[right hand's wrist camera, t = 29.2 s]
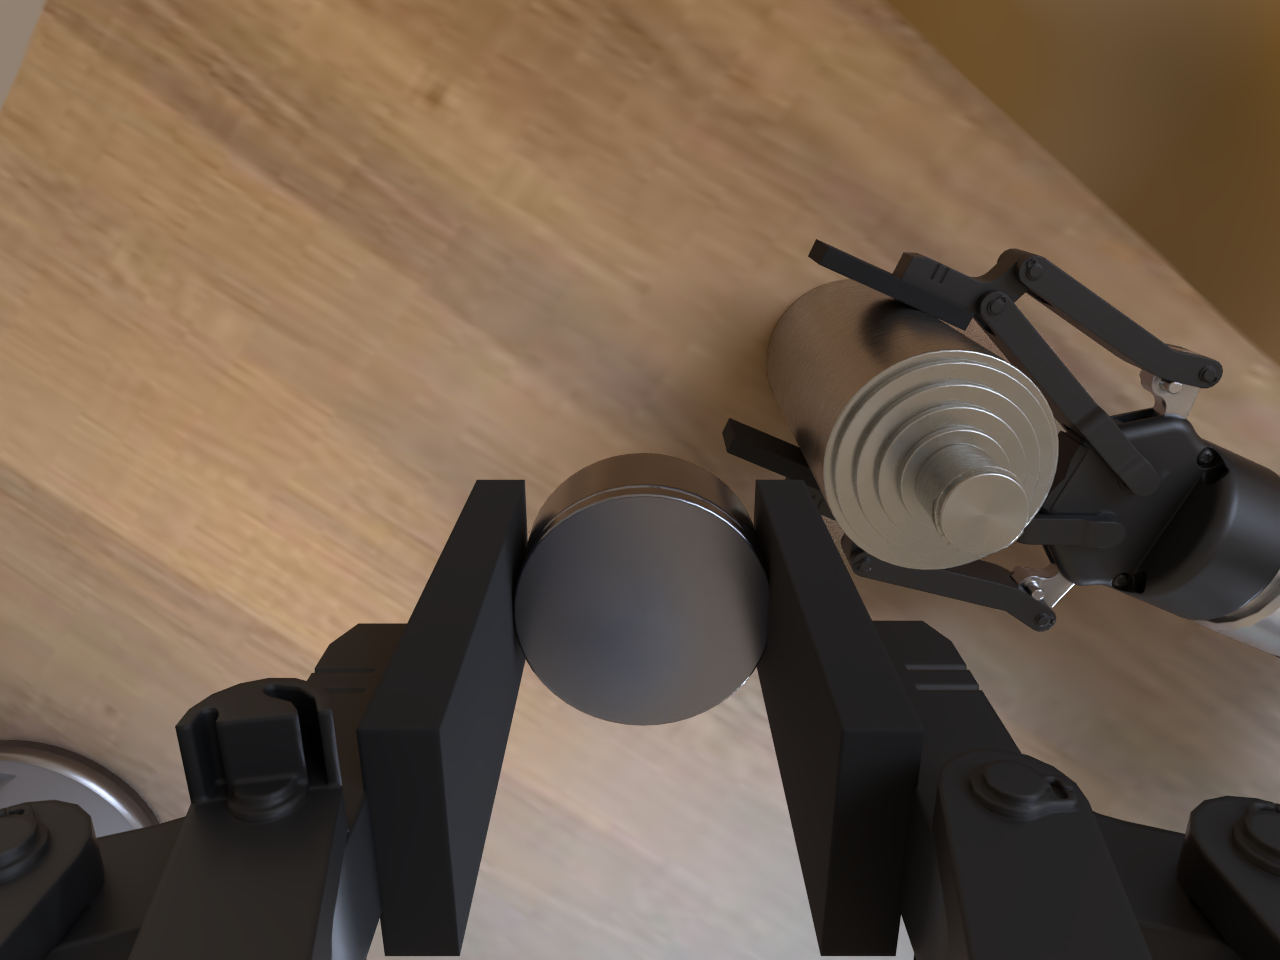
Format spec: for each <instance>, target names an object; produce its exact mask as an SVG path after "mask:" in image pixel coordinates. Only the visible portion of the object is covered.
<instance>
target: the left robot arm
mask: <svg viewBox="0 0 1280 960" xmlns="http://www.w3.org/2000/svg"><path fill="white" fill-rule="evenodd" d="M808 257H810V258H811V259H813V260H814V261H815V262H817V263H818V264H819V265H822V266H824V267H826V268H828V269H830V270H833V271H835V272H837V273H839V274H841V275H844V276H846V277H848V278H850V279H852V280H855V281H857V282H859V283H861V284H863V285H866V286H868V287H870V288H872V289H874V290H877V291H879V292H881V293H883V294H885V295H888V296H890V297H892V298H894V299H896V300H899V301H901V302H903V303H905V304H907V305H910V306H912V307H914V308H916V309H918V310H921V311H923V312H925V313H927V314H930V315H932V316H934V317H936V318H938V319H940V320H943V321H945V322H947V323H949V324H951V325H954V326H956V327H958V328H960V329H962V330H966V328H967V327H968V325H969V323H970V321H971V319H972V318H973V319H974V320H975V321H976V322H977V323H978V324H979V326H980V327H981V328H982V329H983V330H984V332H985V333H986V334H987V335H988V336H989V338H990V339H991V340H992V341H993V342H994V344H995V345H996V346H997V347H998V348H999V350H1000V351H1001V352H1002V353H1003V354H1004V355H1005V357H1006V358H1007V359H1008V360H1009V361H1010V363H1011V364H1012V365H1013V366H1015V367H1016V368H1018V369H1019V370H1020V371H1022V372H1023V373H1024V374H1025V375H1027V376H1028V377H1029V378H1030V379H1031V380H1032V381H1033V382H1034V383H1035V385H1036V386H1037V387H1038V388H1039V389H1040V391H1041V392H1042V394H1043V395H1044V397H1045V398H1046V400H1047V402H1048V404H1049V406H1050V408H1051V410H1052V413H1053V416H1054V417H1055V419H1056V420H1057V421H1058V422H1059V423H1060V425H1061V426H1062V427H1063V428H1064V429H1065V430H1066V433H1065V432H1063V431H1060V432H1059V434H1058V441H1059V446H1058V462H1057V469H1056V473H1055V476H1054V480H1053V483H1052V486H1051V488H1050V490H1049V493H1048V495H1047V497H1046V499H1045V501H1044V503H1043V504H1042V506H1041V508H1040V509H1039V511H1038V512H1037V514H1036V515H1035V516H1034V517H1033V519H1032V520H1031V521H1030V523H1029V524H1028V525H1027V526H1026V527H1025V528H1024V529H1023V531H1024V532H1023V533H1022V535H1021V536H1020V537H1019V538H1018V539H1017V542H1019V543H1023V544H1033V545H1042V546H1043V548H1044V550H1045V552H1046V554H1047V556H1048V558H1049V560H1050V562H1051V564H1050V565H1049V566H1048V567H1046V568H1044V569H1040V570H1035V569H1032V568H1029V567H1020V566H1018V567H1015V568H1014V569H1013V571H1012V572H1010V571H1008V570H1007V569H1005V568H1003V567H1000V566H998V565H996V564H993V563H989V562H986V561H982V560H976V561H973V562H970V563H967V564H964V565H960V566H956V567H952V568H944V569H931V570H921V569H912V568H905V567H901V566H897V565H893V564H890V563H888V562H885V561H882V560H880V559H878V558H876V557H874V556H872V555H870V554H868V553H867V552H866V551H864V550H863V549H861V548H860V547H859V546H857V545H856V544H855V543H854V542H853V541H852V540H851V539H850V538H849V537H848V536H847V535H846V534H844V535H843V537H842V539H841V546H842V549H843V551H844V553H845V555H846V557H847V559H848V562H849V564H850V566H851V568H852V570H853V571H854V572H855V574H857V575H859V576H862V577H866V578H870V579H874V580H878V581H882V582H887V583H891V584H895V585H899V586H903V587H908V588H912V589H916V590H920V591H924V592H928V593H933V594H937V595H941V596H945V597H949V598H954V599H958V600H962V601H966V602H970V603H974V604H979V605H983V606H987V607H991V608H995V609H1000V610H1004V611H1007V612H1008V613H1009V614H1011V615H1012V616H1014V617H1015V618H1017V619H1018V620H1020V621H1021V622H1023V623H1024V624H1026V625H1027V626H1029V627H1030V628H1032V629H1033V630H1036V631H1046V630H1049V629H1050V628H1051V627H1053V625H1054V624H1055V621H1056V615H1055V613H1054V612H1053V611H1052V609H1051V608H1052V607H1053V606H1054V605H1055V604H1056V603H1057V602H1058V601H1059V600H1060V599H1061V598H1062V597H1063V596H1064V595H1065V593H1066V592H1067V591H1068V590H1069V589H1070V588H1071V587H1072V586H1073V585H1074V584H1076V585H1082V586H1086V585H1105V586H1109V587H1111V588H1114V589H1116V590H1118V591H1121V592H1123V593H1125V594H1128V595H1130V596H1132V597H1135V598H1137V599H1140V600H1142V601H1144V602H1147V603H1149V604H1151V605H1154V606H1156V607H1159V608H1161V609H1163V610H1166V611H1168V612H1170V613H1173V614H1175V615H1178V616H1180V617H1183V618H1186V619H1190V620H1194V621H1195V622H1196V623H1197V624H1199V625H1202V626H1204V627H1206V628H1208V629H1211V630H1213V631H1215V632H1218V633H1220V634H1223V635H1225V636H1228V637H1230V638H1233V639H1235V640H1238V641H1240V642H1242V643H1245V644H1247V645H1250V646H1252V647H1255V648H1257V649H1260V650H1262V651H1265V652H1267V653H1270V654H1272V655H1275V656H1277V657H1279V658H1280V475H1277V474H1276V473H1275V472H1273V471H1272V470H1270V469H1268V468H1266V467H1264V466H1262V465H1259V464H1257V463H1255V462H1253V461H1251V460H1248V459H1246V458H1244V457H1242V456H1240V455H1237V454H1235V453H1233V452H1231V451H1229V450H1226V449H1224V448H1222V447H1220V446H1218V445H1215V444H1213V443H1211V442H1209V441H1207V440H1204V439H1202V438H1200V437H1199V436H1198V434H1197V433H1196V432H1195V430H1194V428H1193V426H1192V425H1191V423H1190V422H1189V421H1188V420H1187V419H1186V418H1187V416H1188V414H1189V412H1190V410H1191V407H1192V405H1193V403H1194V401H1195V398H1196V396H1197V394H1198V392H1199V389H1200V388H1209V387H1212V386H1214V385H1215V384H1216V383H1218V381H1219V380H1220V379H1221V377H1222V373H1223V369H1222V366H1221V364H1220V363H1219V362H1218V361H1215V360H1213V359H1211V358H1208V357H1205V356H1203V355H1200V354H1198V353H1195V352H1193V351H1190V350H1187V349H1185V348H1182V347H1179V346H1174V345H1170V344H1165V343H1163V342H1162V341H1160V340H1159V339H1158V338H1156V337H1155V336H1153V335H1152V334H1151V333H1149V332H1148V331H1146V330H1145V329H1144V328H1142V327H1141V326H1139V325H1138V324H1137V323H1135V322H1134V321H1132V320H1131V319H1130V318H1128V317H1127V316H1125V315H1124V314H1123V313H1121V312H1120V311H1118V310H1117V309H1116V308H1114V307H1113V306H1111V305H1110V304H1109V303H1107V302H1106V301H1104V300H1103V299H1102V298H1100V297H1099V296H1097V295H1096V294H1095V293H1093V292H1092V291H1090V290H1089V289H1088V288H1086V287H1085V286H1083V285H1082V284H1081V283H1079V282H1078V281H1076V280H1075V279H1074V278H1072V277H1071V276H1069V275H1068V274H1067V273H1065V272H1064V271H1062V270H1061V269H1060V268H1058V267H1057V266H1055V265H1054V264H1053V263H1051V262H1050V261H1048V260H1047V259H1046V258H1044V257H1041V256H1039V255H1036V254H1032V253H1029V252H1026V251H1022V250H1019V249H1009V250H1006V251H1004V252H1003V253H1002V254H1001V255H1000V257H999V259H998V261H997V264H996V265H995V266H994V267H993V268H992V269H991V270H990V271H989V272H987V273H986V274H984V275H982V276H980V277H969V276H967V275H964V274H962V273H960V272H958V271H956V270H954V269H951V268H949V267H947V266H945V265H943V264H941V263H938V262H936V261H934V260H932V259H930V258H928V257H925V256H923V255H921V254H918V253H903V255H902V257H901V259H900V261H899V262H898V264H897V266H896V268H895V270H894V272H893V274H891V273H889V272H887V271H885V270H882V269H880V268H878V267H876V266H874V265H872V264H869V263H867V262H865V261H863V260H861V259H858V258H856V257H854V256H852V255H850V254H847V253H845V252H843V251H841V250H839V249H837V248H834V247H832V246H830V245H828V244H826V243H823V242H821V241H819V240H817V239H816V241H815V243H814V245H813V247H812V249H811V251H810V253H809V255H808ZM1025 292H1026V293H1027V294H1029V295H1030V296H1032V297H1033V298H1034V299H1036V300H1037V301H1039V302H1040V303H1041V304H1043V305H1044V306H1046V307H1047V308H1049V309H1050V310H1051V311H1053V312H1054V313H1056V314H1057V315H1059V316H1060V317H1061V318H1063V319H1064V320H1066V321H1067V322H1069V323H1070V324H1071V325H1073V326H1074V327H1076V328H1077V329H1079V330H1080V331H1081V332H1083V333H1084V334H1086V335H1087V336H1089V337H1090V338H1091V339H1093V340H1094V341H1096V342H1097V343H1098V344H1100V345H1101V346H1103V347H1104V348H1106V349H1107V350H1108V351H1110V352H1111V353H1113V354H1114V355H1116V356H1117V357H1119V358H1120V359H1122V360H1124V361H1125V362H1128V363H1130V364H1132V365H1134V366H1136V367H1138V368H1141V369H1142V370H1141V372H1140V378H1141V384H1142V386H1143V388H1144V389H1146V390H1148V391H1149V392H1151V393H1152V394H1153V395H1154V398H1155V405H1154V408H1148V409H1143V410H1138V411H1133V412H1128V413H1123V414H1118V415H1113V416H1109V415H1108V414H1107V413H1106V412H1105V411H1104V410H1103V409H1101V408H1100V407H1099V406H1098V405H1097V404H1096V403H1095V402H1094V400H1093V399H1092V398H1091V397H1090V395H1089V394H1088V393H1087V392H1086V391H1085V389H1084V388H1083V387H1082V386H1081V384H1080V383H1079V382H1078V381H1077V380H1076V378H1075V377H1074V376H1073V375H1072V374H1071V372H1070V371H1069V370H1068V369H1067V367H1066V366H1065V365H1064V364H1063V363H1062V361H1061V360H1060V359H1059V358H1058V356H1057V355H1056V354H1055V353H1054V352H1053V350H1052V349H1051V348H1050V347H1049V345H1048V344H1047V343H1046V342H1045V341H1044V339H1043V338H1042V337H1041V336H1040V334H1039V333H1038V332H1037V331H1036V330H1035V328H1034V327H1033V326H1032V325H1031V323H1030V322H1029V321H1028V320H1027V319H1026V317H1025V316H1024V315H1023V314H1022V313H1021V311H1020V310H1019V309H1018V308H1017V306H1016V305H1015V304H1014V302H1015V301H1016V300H1018V299H1019V298H1020V297H1021V296H1022V295H1023V294H1024V293H1025ZM722 434H723V438H724V442H725V445H726V449H727V452H728V453H730V454H732V455H735V456H737V457H740V458H742V459H744V460H747V461H749V462H752V463H754V464H756V465H759V466H761V467H764V468H766V469H768V470H771V471H773V472H776V473H778V474H780V475H783V476H785V477H786V479H785V480H804V482H805V484H806V486H807V488H808V490H809V492H810V494H811V496H812V498H813V500H814V502H815V504H816V507H817V509H818V511H819V513H820V514H821V515H823V516H826V517H828V518H830V519H833V520H835V521H836V519H835V518H834V516H833V514H832V512H831V510H830V508H829V506H828V504H827V502H826V500H825V498H824V496H823V494H822V492H821V490H820V488H819V486H818V484H817V482H816V480H815V478H814V476H813V474H812V471H811V469H810V467H809V465H808V463H807V461H806V459H805V457H804V455H803V453H802V451H801V449H800V448H799V447H797V446H795V445H792V444H790V443H787V442H785V441H783V440H780V439H778V438H776V437H773V436H771V435H769V434H766V433H764V432H761V431H759V430H757V429H754V428H752V427H750V426H747V425H745V424H742V423H740V422H738V421H735V420H733V419H731V418H729V420H728V422H727V424H726V426H725V428H724V430H723V432H722Z"/></svg>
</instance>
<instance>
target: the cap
mask: <svg viewBox="0 0 1280 960" xmlns="http://www.w3.org/2000/svg"><path fill="white" fill-rule="evenodd" d="M769 592H770V579H769V576H768V572H767V569H766V566H765V562H764V559H763V556H762V552H761V549H760V546H759V542H758V539H757V536H756V532H755V529H754V526H753V523H752V521H751V519H750V517H749V514H748V512H747V510H746V509H745V507H744V506H743V504H742V503H741V501H740V500H739V498H738V497H737V496H736V495H735V494H734V493H733V491H732V490H731V489H730V488H729V487H728V486H727V485H726V484H724V483H723V482H722V481H721V480H720V479H719V478H717V477H716V476H714V475H713V474H711V473H710V472H708V471H707V470H705V469H703V468H701V467H699V466H697V465H695V464H693V463H691V462H688V461H685V460H682V459H679V458H676V457H671V456H666V455H661V454H652V453H650V454H648V453H639V454H626V455H621V456H615V457H611V458H607V459H605V460H601V461H598V462H596V463H594V464H592V465H589V466H587V467H585V468H583V469H581V470H580V471H578V472H577V473H575V474H574V475H572V476H570V477H569V478H568V479H567V480H566V481H564V482H563V483H562V484H561V485H560V486H559V487H558V488H557V489H556V490H555V491H554V492H553V493H552V494H551V495H550V496H549V498H548V499H547V500H546V502H545V503H544V505H543V506H542V508H541V509H540V511H539V513H538V515H537V517H536V519H535V521H534V524H533V527H532V530H531V533H530V536H529V540H528V543H527V547H526V551H525V554H524V558H523V561H522V565H521V568H520V572H519V576H518V579H517V583H516V588H515V593H514V599H513V618H514V626H515V631H516V635H517V639H518V642H519V645H520V648H521V650H522V652H523V654H524V657H525V659H526V660H527V662H528V664H529V665H530V667H531V669H532V670H533V672H534V673H535V674H536V675H537V677H538V678H539V679H540V680H541V682H542V683H543V684H544V685H545V686H546V687H547V688H548V689H549V690H550V691H552V692H553V693H554V694H555V695H556V696H558V697H559V698H560V699H562V700H563V701H564V702H566V703H567V704H569V705H571V706H572V707H574V708H576V709H578V710H579V711H582V712H584V713H586V714H589V715H591V716H593V717H596V718H600V719H603V720H606V721H610V722H615V723H621V724H627V725H660V724H666V723H672V722H677V721H680V720H684V719H687V718H691V717H693V716H696V715H698V714H701V713H703V712H705V711H707V710H709V709H711V708H713V707H714V706H716V705H718V704H720V703H721V702H722V701H724V700H725V699H727V698H728V697H729V696H731V695H732V694H733V693H734V692H735V691H736V690H737V689H738V688H740V687H741V686H742V685H743V684H744V683H745V681H746V680H747V679H748V678H749V677H750V675H751V674H752V673H753V671H754V670H755V668H756V667H757V665H758V664H759V662H760V660H761V659H762V656H763V654H764V652H765V650H766V645H767V628H768V610H769Z"/></svg>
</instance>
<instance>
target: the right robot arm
mask: <svg viewBox="0 0 1280 960" xmlns="http://www.w3.org/2000/svg"><path fill="white" fill-rule="evenodd" d="M754 529H755V532H756V536H757V539H758V542H759V546H760V549H761V552H762V556H763V559H764V562H765V566H766V569H767V572H768V576H769V579H770V592H769V610H768V628H767V645H766V650H765V652H764V654H763V656H762V659H761V660H760V662H759V664H758V665H757V670H758V675H759V679H760V684H761V688H762V693H763V697H764V702H765V706H766V711H767V715H768V720H769V724H770V729H771V733H772V738H773V742H774V747H775V751H776V756H777V760H778V765H779V769H780V774H781V778H782V783H783V787H784V792H785V796H786V801H787V805H788V810H789V814H790V819H791V823H792V828H793V832H794V837H795V841H796V846H797V850H798V855H799V859H800V864H801V868H802V873H803V877H804V882H805V886H806V891H807V895H808V900H809V904H810V909H811V913H812V918H813V922H814V927H815V931H816V936H817V940H818V945H819V949H820V954H821V956H896V949H897V941H898V933H899V926H900V918H901V915H902V918H903V921H904V924H905V927H906V930H907V933H908V936H909V939H910V942H911V945H912V948H913V951H914V960H1280V804H1275V803H1273V802H1269V801H1264V800H1261V799H1257V798H1246V797H1235V796H1224V797H1219V798H1214V799H1209V800H1204V801H1203V802H1202V803H1201V804H1200V805H1198V806H1197V807H1196V808H1195V809H1194V810H1193V811H1192V812H1191V814H1190V818H1189V821H1188V825H1187V829H1186V833H1185V834H1182V833H1178V832H1173V831H1169V830H1164V829H1159V828H1155V827H1150V826H1145V825H1141V824H1136V823H1131V822H1127V821H1122V820H1119V819H1115V818H1112V817H1108V816H1105V815H1101V814H1098V813H1096V812H1093V811H1092V808H1091V806H1090V803H1089V801H1088V800H1087V799H1086V797H1085V796H1084V794H1083V793H1082V791H1081V790H1080V789H1079V787H1078V786H1077V784H1076V783H1075V782H1073V781H1072V780H1071V779H1069V778H1068V777H1067V776H1065V775H1064V774H1063V773H1062V772H1060V771H1059V770H1058V769H1056V768H1055V767H1053V766H1051V765H1049V764H1046V763H1044V762H1042V761H1040V760H1037V759H1035V758H1033V757H1031V756H1028V755H1025V754H1021V752H1020V750H1019V749H1018V747H1017V746H1016V744H1015V742H1014V741H1013V739H1012V738H1011V736H1010V734H1009V733H1008V731H1007V730H1006V728H1005V726H1004V725H1003V723H1002V722H1001V720H1000V718H999V717H998V715H997V714H996V712H995V710H994V709H993V707H992V706H991V704H990V702H989V701H988V699H987V698H986V696H985V694H984V693H983V691H982V690H979V685H978V683H977V682H976V680H975V678H974V677H973V675H972V674H971V672H970V670H967V669H966V664H965V662H964V661H963V659H962V658H961V656H960V654H959V653H958V651H957V650H956V648H955V646H954V645H953V643H952V642H951V641H950V640H949V639H947V638H946V637H944V636H943V635H942V634H940V633H939V632H937V631H936V630H935V629H933V628H932V627H930V626H929V625H928V624H926V623H925V622H923V621H872V620H871V618H870V616H869V614H868V612H867V610H866V607H865V605H864V603H863V601H862V599H861V597H860V595H859V593H858V591H857V589H856V587H855V585H854V583H853V581H852V579H851V577H850V575H849V572H848V570H847V568H846V566H845V564H844V562H843V560H842V558H841V556H840V554H839V552H838V550H837V548H836V546H835V544H834V542H833V540H832V537H831V535H830V533H829V531H828V529H827V527H826V525H825V523H824V521H823V519H822V517H821V515H820V513H819V511H818V509H817V507H816V504H815V502H814V500H813V498H812V496H811V494H810V492H809V490H808V488H807V486H806V484H805V482H804V480H756V488H755V509H754ZM527 543H528V540H527V518H526V497H525V480H477V481H476V483H475V485H474V487H473V489H472V491H471V493H470V495H469V497H468V500H467V502H466V504H465V506H464V508H463V510H462V512H461V514H460V516H459V518H458V520H457V522H456V524H455V526H454V528H453V530H452V533H451V535H450V537H449V539H448V541H447V543H446V545H445V547H444V549H443V551H442V553H441V555H440V557H439V559H438V561H437V563H436V565H435V568H434V570H433V572H432V574H431V576H430V578H429V580H428V582H427V584H426V586H425V588H424V590H423V592H422V594H421V596H420V598H419V601H418V603H417V605H416V607H415V609H414V611H413V613H412V615H411V617H410V619H409V621H408V623H407V624H357V625H356V626H355V627H353V628H352V629H350V630H349V631H348V632H346V633H345V634H343V635H342V636H341V637H339V638H338V639H336V640H335V641H334V642H332V643H331V644H330V645H329V646H328V648H327V649H326V651H325V653H324V654H323V656H322V657H321V659H320V661H319V662H318V664H317V666H316V667H315V673H312V674H311V675H310V677H309V678H308V680H307V681H304V680H300V679H297V678H266V679H261V680H256V681H251V682H246V683H240V684H237V685H235V686H232V687H230V688H227V689H225V690H222V691H219V692H217V693H214V694H212V695H210V696H209V697H207V698H206V699H204V700H203V701H201V702H200V703H198V704H197V705H195V706H193V707H192V708H190V709H189V710H188V711H187V713H186V714H185V715H184V716H183V717H182V719H181V720H180V721H179V722H178V724H177V725H176V726H175V728H176V733H177V737H178V742H179V747H180V752H181V756H182V761H183V766H184V771H185V775H186V780H187V785H188V790H189V794H190V799H191V805H190V807H189V810H188V812H187V815H186V816H185V817H182V818H179V819H175V820H172V821H168V822H165V823H161V824H159V822H158V820H157V818H156V817H155V815H154V814H153V812H152V810H151V809H150V808H149V807H148V805H147V804H146V803H145V801H144V800H143V799H142V798H141V797H140V796H139V795H138V794H137V793H136V792H135V791H134V790H133V789H132V788H131V787H130V786H129V785H128V784H127V783H126V782H124V781H123V780H122V779H120V778H119V777H118V776H117V775H115V774H114V773H112V772H111V771H109V770H108V769H106V768H105V767H103V766H101V765H99V764H98V763H96V762H94V761H92V760H90V759H88V758H86V757H84V756H81V755H79V754H76V753H74V752H71V751H69V750H65V749H62V748H59V747H56V746H51V745H47V744H43V743H36V742H30V741H17V740H8V741H0V960H366V957H367V954H368V951H369V948H370V945H371V942H372V939H373V936H374V933H375V930H376V927H377V924H378V921H379V918H380V921H381V929H382V936H383V944H384V952H385V956H460V952H461V948H462V943H463V939H464V934H465V930H466V925H467V921H468V916H469V912H470V907H471V903H472V898H473V894H474V889H475V885H476V880H477V875H478V871H479V866H480V862H481V857H482V853H483V848H484V844H485V839H486V835H487V830H488V826H489V821H490V817H491V812H492V808H493V803H494V799H495V794H496V790H497V785H498V781H499V776H500V772H501V767H502V763H503V758H504V754H505V749H506V745H507V740H508V736H509V731H510V727H511V722H512V718H513V713H514V709H515V704H516V700H517V695H518V691H519V686H520V682H521V677H522V673H523V668H524V664H525V657H524V654H523V652H522V650H521V648H520V645H519V642H518V639H517V635H516V631H515V626H514V618H513V599H514V593H515V588H516V583H517V579H518V576H519V572H520V568H521V565H522V561H523V558H524V554H525V551H526V547H527Z"/></svg>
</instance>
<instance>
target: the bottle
mask: <svg viewBox="0 0 1280 960" xmlns="http://www.w3.org/2000/svg"><path fill="white" fill-rule="evenodd" d="M767 373H768V379H769V383H770V386H771V389H772V391H773V394H774V396H775V398H776V400H777V402H778V404H779V406H780V408H781V410H782V412H783V414H784V416H785V419H786V421H787V423H788V425H789V427H790V429H791V431H792V433H793V435H794V437H795V439H796V441H797V443H798V445H799V447H800V449H801V451H802V453H803V455H804V457H805V459H806V461H807V463H808V465H809V467H810V469H811V471H812V474H813V476H814V478H815V480H816V482H817V484H818V486H819V488H820V490H821V492H822V494H823V496H824V498H825V500H826V502H827V504H828V506H829V508H830V510H831V512H832V514H833V516H834V518H835V519H836V521H837V523H838V525H839V526H840V527H841V529H842V530H843V531H844V532H845V534H846V535H847V536H848V537H849V538H850V539H851V540H852V541H853V542H854V543H855V544H856V545H857V546H859V547H860V548H861V549H863V550H864V551H866V552H867V553H868V554H870V555H872V556H874V557H876V558H878V559H880V560H882V561H885V562H888V563H890V564H893V565H897V566H901V567H905V568H912V569H921V570H931V569H944V568H952V567H956V566H960V565H964V564H967V563H970V562H973V561H976V560H978V559H981V558H983V557H985V556H987V555H989V554H991V553H996V552H998V551H1000V550H1002V549H1004V548H1005V549H1006V548H1007V547H1008V546H1010V545H1011V544H1012V543H1014V542H1015V541H1017V539H1018V538H1019V537H1020V536H1021V535H1022V533H1023V532H1024V531H1023V529H1024V528H1025V527H1026V526H1027V525H1028V524H1029V523H1030V521H1031V520H1032V519H1033V517H1034V516H1035V515H1036V514H1037V512H1038V511H1039V509H1040V508H1041V506H1042V504H1043V503H1044V501H1045V499H1046V497H1047V495H1048V493H1049V490H1050V488H1051V486H1052V483H1053V480H1054V476H1055V473H1056V469H1057V462H1058V446H1059V441H1058V433H1057V426H1056V423H1055V419H1054V416H1053V413H1052V410H1051V408H1050V406H1049V404H1048V402H1047V400H1046V398H1045V397H1044V395H1043V394H1042V392H1041V391H1040V389H1039V388H1038V387H1037V386H1036V385H1035V383H1034V382H1033V381H1032V380H1031V379H1030V378H1029V377H1028V376H1027V375H1025V374H1024V373H1023V372H1022V371H1020V370H1019V369H1018V368H1016V367H1015V366H1013V365H1012V364H1010V363H1008V362H1007V361H1005V360H1004V359H1002V358H1000V357H999V356H997V355H995V354H994V353H992V352H991V351H989V350H987V349H986V348H984V347H982V346H981V345H979V344H978V343H976V342H974V341H973V340H971V339H970V338H968V337H966V336H965V335H963V334H961V333H960V332H958V331H957V330H955V329H953V328H952V327H950V326H949V325H947V324H945V323H944V322H942V321H940V320H939V319H937V318H936V317H934V316H932V315H930V314H927V313H925V312H923V311H921V310H918V309H916V308H914V307H912V306H910V305H907V304H905V303H903V302H901V301H899V300H896V299H894V298H892V297H890V296H888V295H885V294H883V293H881V292H879V291H877V290H874V289H872V288H870V287H868V286H866V285H863V284H861V283H859V282H857V281H855V280H841V281H834V282H831V283H827V284H824V285H822V286H819V287H817V288H815V289H813V290H811V291H809V292H808V293H806V294H804V295H803V296H802V297H801V298H799V299H798V300H797V301H795V302H794V303H793V304H792V305H791V306H790V307H789V308H788V310H787V311H786V312H785V313H784V315H783V316H782V317H781V319H780V320H779V322H778V324H777V325H776V327H775V330H774V332H773V334H772V337H771V340H770V343H769V347H768V353H767Z"/></svg>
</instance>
